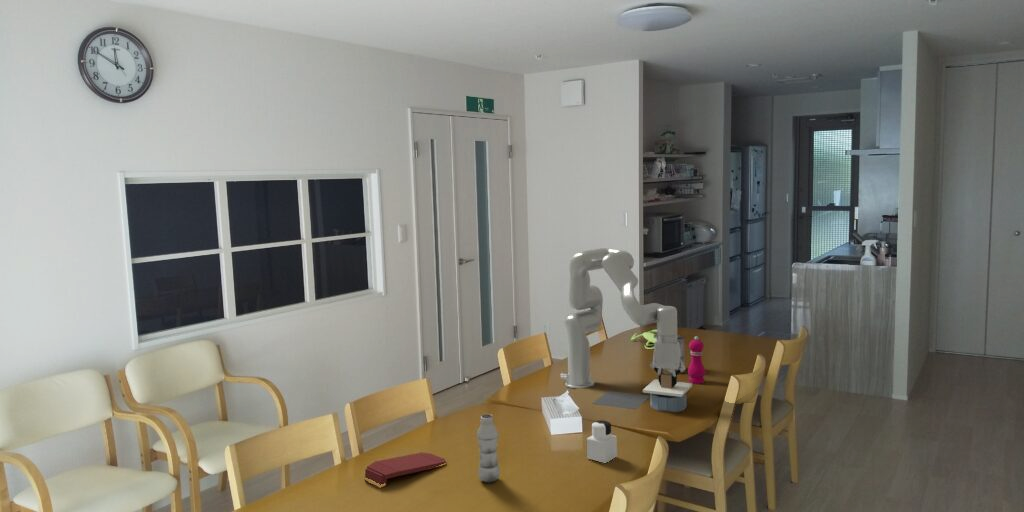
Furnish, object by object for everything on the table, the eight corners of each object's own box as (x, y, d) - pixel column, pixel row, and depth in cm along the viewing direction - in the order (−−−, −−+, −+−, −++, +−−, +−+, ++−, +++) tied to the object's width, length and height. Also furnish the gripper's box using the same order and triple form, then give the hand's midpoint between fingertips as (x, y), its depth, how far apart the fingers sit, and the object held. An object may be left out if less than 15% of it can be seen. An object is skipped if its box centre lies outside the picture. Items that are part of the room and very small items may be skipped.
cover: (642, 392, 275) (642, 377, 274) (654, 381, 288) (654, 367, 287) (681, 397, 267) (681, 381, 267) (692, 385, 280) (692, 370, 280)
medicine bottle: (598, 452, 236) (597, 417, 235) (617, 457, 231) (616, 421, 230) (586, 459, 230) (585, 423, 229) (605, 464, 226) (604, 427, 225)
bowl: (646, 409, 276) (646, 395, 275) (656, 399, 287) (656, 386, 287) (680, 414, 269) (680, 399, 269) (689, 403, 281) (689, 389, 280)
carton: (424, 466, 240) (361, 479, 222) (425, 451, 240) (362, 463, 222) (448, 475, 231) (384, 490, 213) (449, 460, 231) (385, 474, 213)
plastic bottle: (499, 475, 221) (497, 412, 219) (500, 484, 214) (497, 419, 212) (478, 476, 221) (476, 413, 219) (478, 485, 214) (475, 420, 212)
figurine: (660, 337, 395) (659, 327, 394) (681, 348, 369) (681, 337, 368) (628, 339, 391) (628, 329, 391) (647, 351, 365) (647, 340, 365)
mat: (591, 404, 284) (591, 403, 284) (608, 391, 299) (608, 390, 299) (635, 410, 275) (635, 409, 275) (650, 396, 291) (650, 395, 291)
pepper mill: (705, 384, 305) (705, 338, 302) (688, 384, 306) (687, 338, 304) (704, 379, 312) (704, 334, 309) (687, 379, 313) (687, 334, 311)
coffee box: (661, 369, 331) (661, 334, 329) (673, 367, 333) (673, 333, 331) (673, 373, 322) (673, 338, 320) (685, 371, 325) (685, 337, 323)
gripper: (643, 339, 276) (643, 385, 278) (686, 342, 268) (686, 390, 270) (649, 334, 283) (649, 380, 285) (691, 338, 275) (691, 384, 277)
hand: (667, 384), depth 277 cm, fingers closed on cover, 4 cm apart
